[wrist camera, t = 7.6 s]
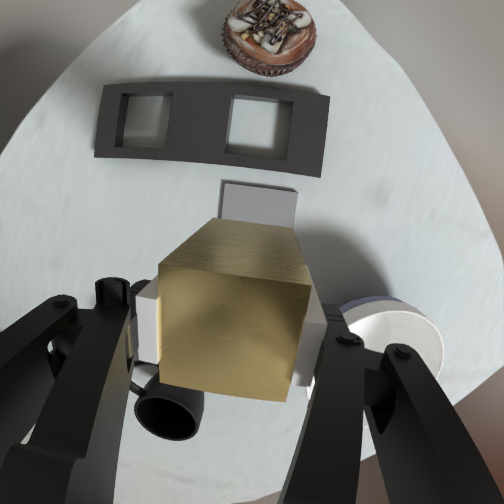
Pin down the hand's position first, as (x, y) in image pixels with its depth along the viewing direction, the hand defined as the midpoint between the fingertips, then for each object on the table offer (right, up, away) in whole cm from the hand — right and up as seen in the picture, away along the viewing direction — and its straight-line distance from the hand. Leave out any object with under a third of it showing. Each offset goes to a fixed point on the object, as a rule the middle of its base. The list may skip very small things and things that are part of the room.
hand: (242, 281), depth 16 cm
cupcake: (+2, +25, +13) cm, 28 cm away
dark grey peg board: (-5, +16, +16) cm, 23 cm away
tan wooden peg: (0, +1, +4) cm, 4 cm away
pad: (+1, +5, +18) cm, 19 cm away
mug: (-10, -15, +25) cm, 30 cm away
